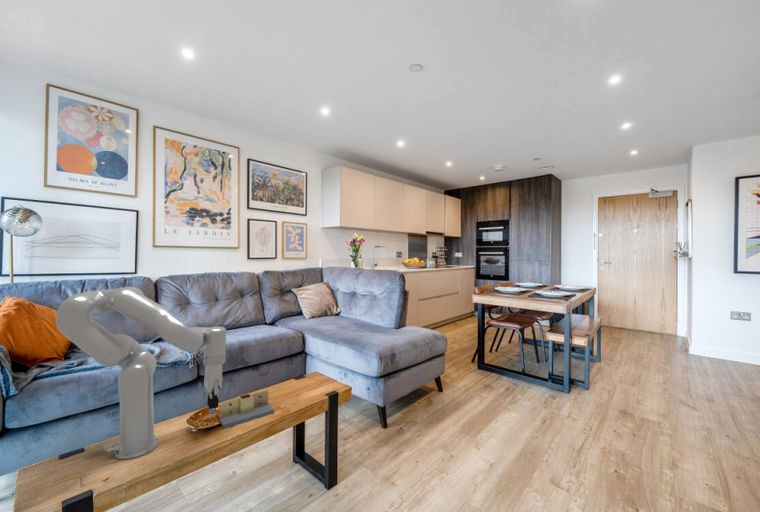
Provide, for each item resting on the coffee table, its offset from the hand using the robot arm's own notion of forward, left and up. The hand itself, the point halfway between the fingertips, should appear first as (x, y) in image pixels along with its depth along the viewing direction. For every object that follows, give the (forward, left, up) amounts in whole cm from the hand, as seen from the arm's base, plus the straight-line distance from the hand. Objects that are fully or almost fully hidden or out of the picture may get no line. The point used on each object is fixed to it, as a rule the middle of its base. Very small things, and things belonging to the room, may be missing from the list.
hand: (212, 406), depth 124 cm
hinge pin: (0, 0, -3) cm, 3 cm away
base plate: (+14, +6, -9) cm, 18 cm away
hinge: (+14, +6, -8) cm, 17 cm away
